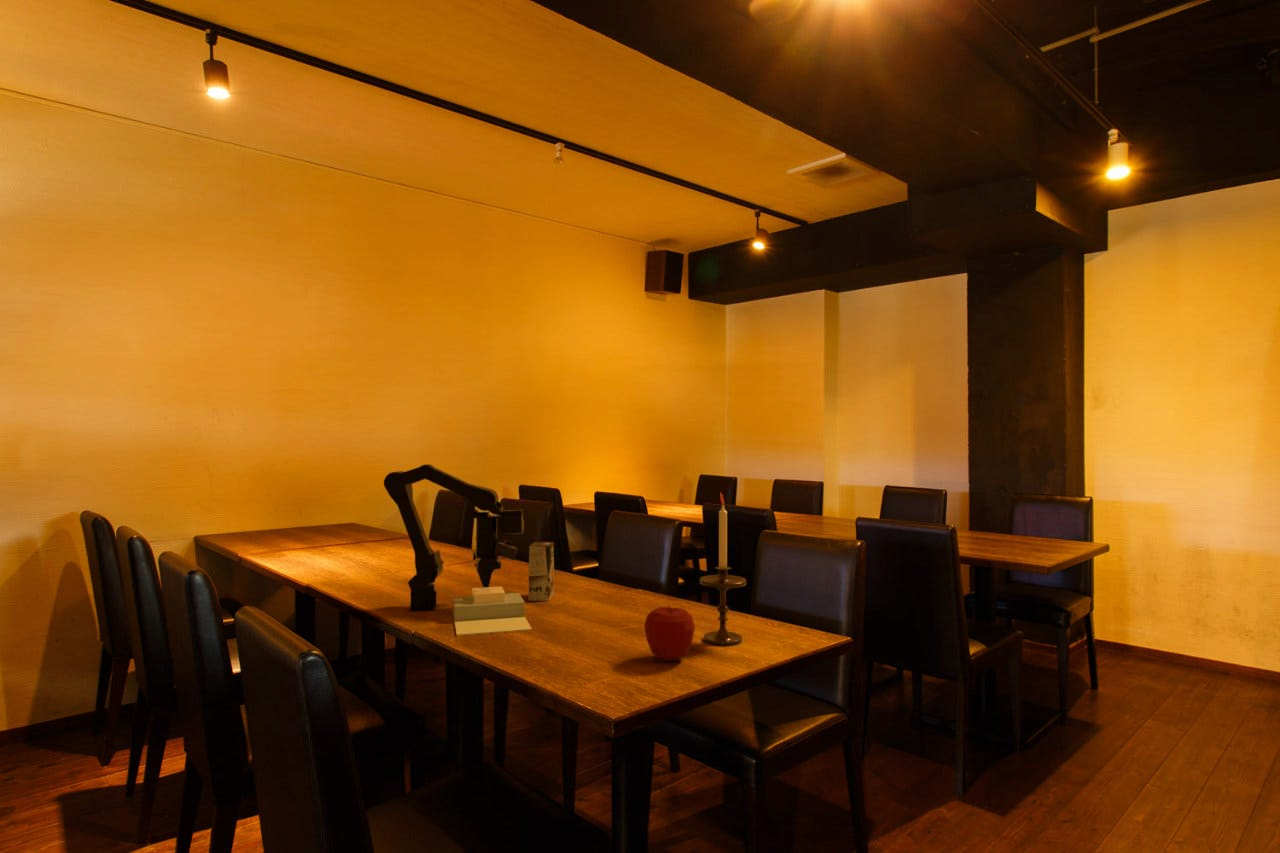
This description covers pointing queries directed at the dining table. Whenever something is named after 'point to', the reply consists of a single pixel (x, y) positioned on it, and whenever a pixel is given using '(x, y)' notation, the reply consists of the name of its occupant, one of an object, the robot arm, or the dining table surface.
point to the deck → (488, 608)
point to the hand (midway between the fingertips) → (486, 589)
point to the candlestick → (722, 587)
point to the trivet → (488, 595)
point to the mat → (492, 626)
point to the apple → (669, 632)
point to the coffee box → (541, 571)
